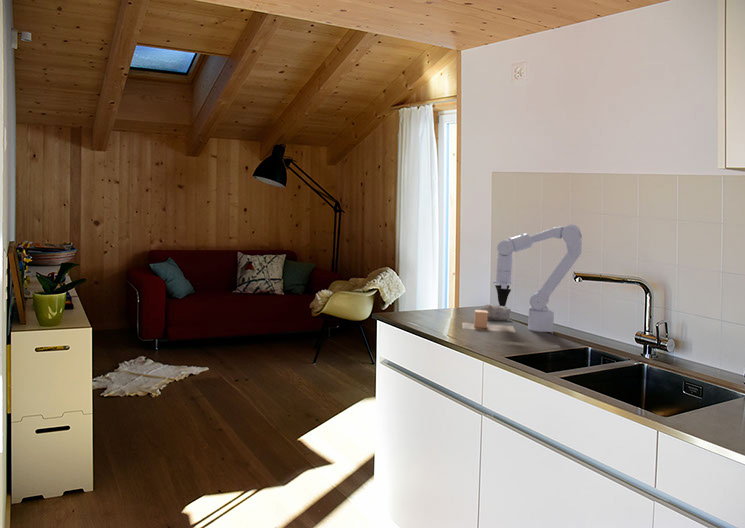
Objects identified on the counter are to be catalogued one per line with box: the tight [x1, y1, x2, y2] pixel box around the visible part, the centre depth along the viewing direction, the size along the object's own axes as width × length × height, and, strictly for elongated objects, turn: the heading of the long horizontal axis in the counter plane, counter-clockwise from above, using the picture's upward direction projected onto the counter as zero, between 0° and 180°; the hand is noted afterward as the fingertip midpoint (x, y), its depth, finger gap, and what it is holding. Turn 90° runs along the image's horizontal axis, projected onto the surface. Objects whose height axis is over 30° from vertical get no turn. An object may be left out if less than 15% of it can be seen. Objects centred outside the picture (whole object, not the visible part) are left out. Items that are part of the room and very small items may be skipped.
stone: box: [480, 304, 512, 321], centre depth 270 cm, size 8×12×7 cm, turn 103°
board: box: [461, 322, 516, 333], centre depth 250 cm, size 20×12×4 cm, turn 82°
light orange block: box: [473, 309, 488, 328], centre depth 251 cm, size 5×5×6 cm
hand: (501, 304), depth 255 cm, fingers open, 7 cm apart
